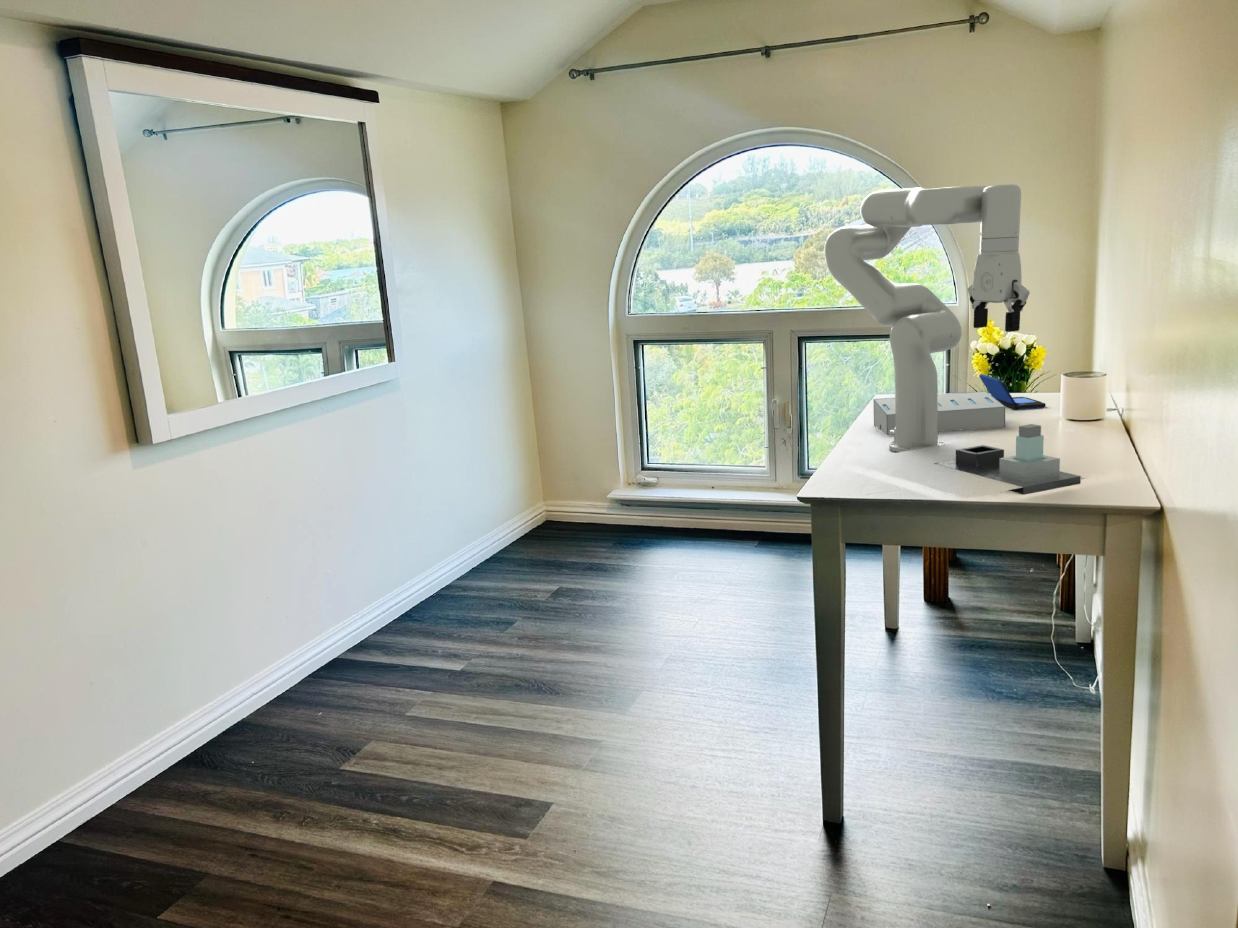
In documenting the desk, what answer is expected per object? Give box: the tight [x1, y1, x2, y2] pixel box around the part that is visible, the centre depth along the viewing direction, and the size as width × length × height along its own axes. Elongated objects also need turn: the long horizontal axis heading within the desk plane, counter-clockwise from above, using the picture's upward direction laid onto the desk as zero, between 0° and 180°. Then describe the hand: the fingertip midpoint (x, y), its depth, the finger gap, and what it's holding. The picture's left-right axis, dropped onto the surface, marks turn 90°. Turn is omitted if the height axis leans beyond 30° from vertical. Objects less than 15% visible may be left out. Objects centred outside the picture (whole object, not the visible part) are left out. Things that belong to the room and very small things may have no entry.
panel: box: [933, 444, 1082, 496], centre depth 195 cm, size 26×14×5 cm, turn 21°
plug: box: [1015, 423, 1045, 462], centre depth 188 cm, size 3×4×10 cm
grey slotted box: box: [873, 390, 1006, 436], centre depth 252 cm, size 30×14×8 cm, turn 88°
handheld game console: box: [978, 373, 1046, 411], centre depth 273 cm, size 16×13×9 cm
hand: (995, 329), depth 203 cm, fingers open, 9 cm apart
